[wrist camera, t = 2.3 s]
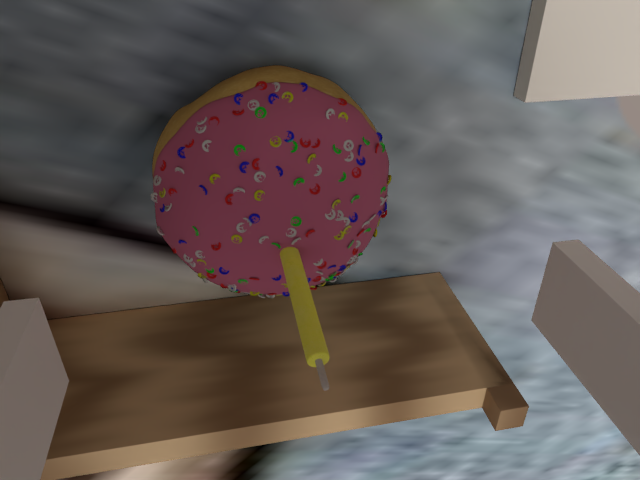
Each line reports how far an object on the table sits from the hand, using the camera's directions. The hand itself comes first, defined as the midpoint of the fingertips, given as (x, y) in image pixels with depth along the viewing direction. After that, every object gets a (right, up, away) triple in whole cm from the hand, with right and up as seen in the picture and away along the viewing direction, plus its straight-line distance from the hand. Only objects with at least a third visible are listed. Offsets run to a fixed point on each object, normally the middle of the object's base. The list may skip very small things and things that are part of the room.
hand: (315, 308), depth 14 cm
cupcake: (-3, +6, +9) cm, 11 cm away
